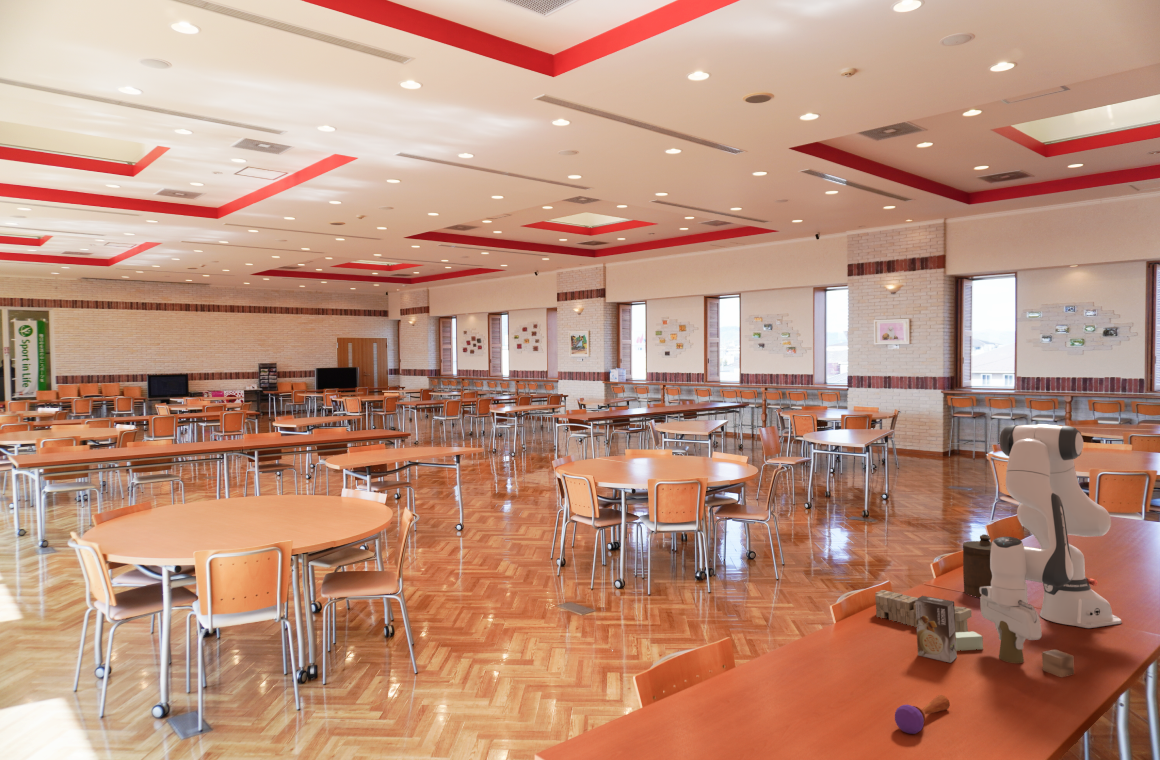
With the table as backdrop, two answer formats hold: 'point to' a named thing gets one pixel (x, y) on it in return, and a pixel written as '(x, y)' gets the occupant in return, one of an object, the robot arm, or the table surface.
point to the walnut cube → (1058, 663)
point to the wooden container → (977, 565)
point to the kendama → (918, 714)
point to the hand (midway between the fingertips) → (1010, 644)
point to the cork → (1009, 645)
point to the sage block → (968, 641)
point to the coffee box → (936, 628)
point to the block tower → (911, 610)
